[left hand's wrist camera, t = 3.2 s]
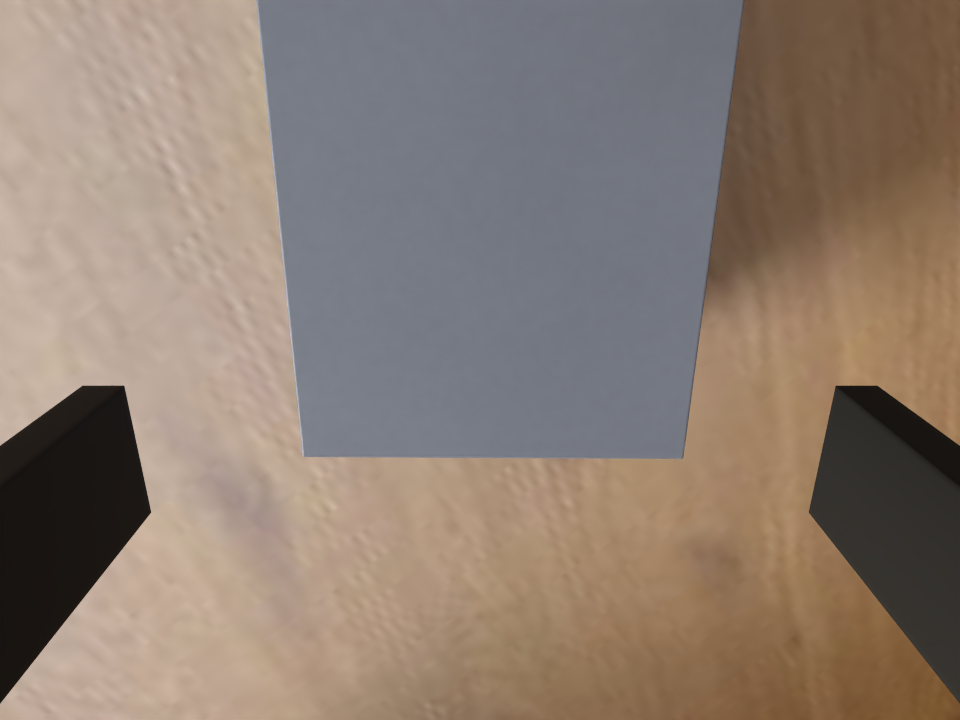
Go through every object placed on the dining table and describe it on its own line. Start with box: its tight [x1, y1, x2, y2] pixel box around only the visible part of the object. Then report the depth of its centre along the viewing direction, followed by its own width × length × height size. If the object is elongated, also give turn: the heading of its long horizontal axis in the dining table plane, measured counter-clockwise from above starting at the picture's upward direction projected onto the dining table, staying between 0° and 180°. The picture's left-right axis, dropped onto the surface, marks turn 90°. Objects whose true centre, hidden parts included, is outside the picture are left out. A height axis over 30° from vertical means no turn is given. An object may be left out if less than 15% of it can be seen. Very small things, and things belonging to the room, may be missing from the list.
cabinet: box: [256, 0, 744, 459], centre depth 21 cm, size 22×11×11 cm, turn 0°
